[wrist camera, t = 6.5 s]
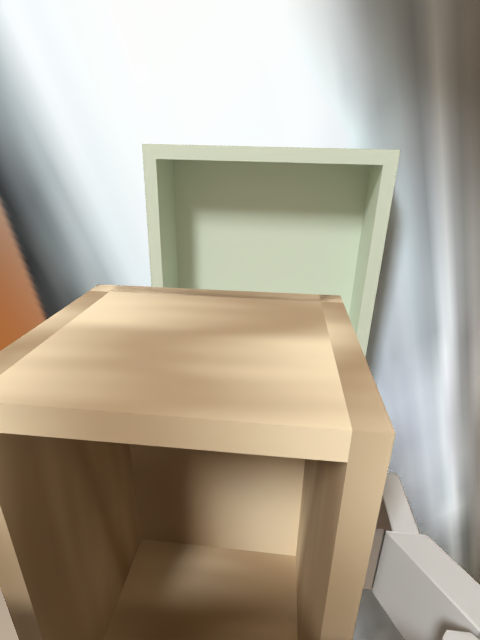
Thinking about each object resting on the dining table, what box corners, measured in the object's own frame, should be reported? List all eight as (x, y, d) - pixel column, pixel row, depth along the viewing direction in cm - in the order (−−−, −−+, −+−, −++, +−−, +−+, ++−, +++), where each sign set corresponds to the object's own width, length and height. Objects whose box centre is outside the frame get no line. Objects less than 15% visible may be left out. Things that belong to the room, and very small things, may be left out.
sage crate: (382, 151, 22) (400, 150, 19) (351, 351, 27) (361, 380, 24) (165, 146, 24) (142, 144, 20) (173, 337, 29) (156, 363, 25)
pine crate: (340, 295, 9) (395, 433, 5) (309, 553, 13) (323, 778, 8) (98, 284, 10) (-68, 397, 5) (133, 534, 13) (53, 733, 9)
